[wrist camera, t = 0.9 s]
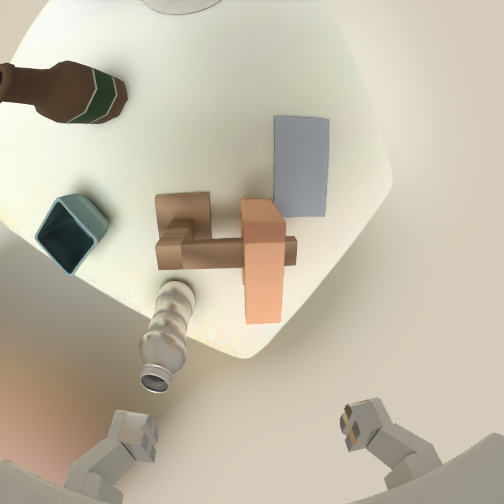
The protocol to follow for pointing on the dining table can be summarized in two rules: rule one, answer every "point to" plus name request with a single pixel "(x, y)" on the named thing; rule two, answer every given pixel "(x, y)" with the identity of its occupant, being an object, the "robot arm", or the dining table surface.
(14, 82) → the beer bottle
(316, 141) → the felt mat
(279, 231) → the c link
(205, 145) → the dining table surface
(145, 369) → the plastic bottle
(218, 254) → the brown wooden angular piece
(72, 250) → the flower pot
